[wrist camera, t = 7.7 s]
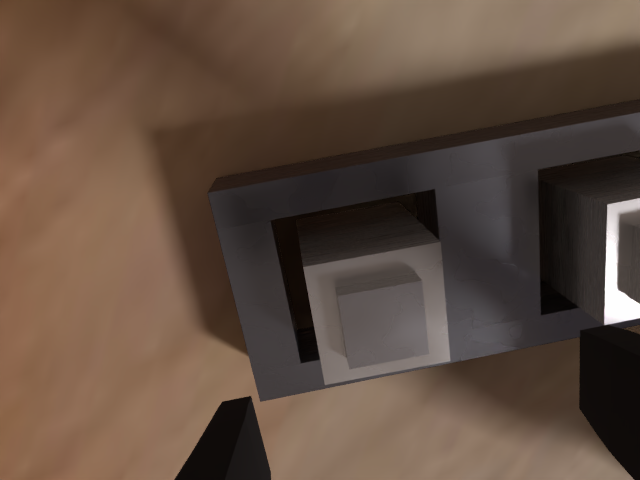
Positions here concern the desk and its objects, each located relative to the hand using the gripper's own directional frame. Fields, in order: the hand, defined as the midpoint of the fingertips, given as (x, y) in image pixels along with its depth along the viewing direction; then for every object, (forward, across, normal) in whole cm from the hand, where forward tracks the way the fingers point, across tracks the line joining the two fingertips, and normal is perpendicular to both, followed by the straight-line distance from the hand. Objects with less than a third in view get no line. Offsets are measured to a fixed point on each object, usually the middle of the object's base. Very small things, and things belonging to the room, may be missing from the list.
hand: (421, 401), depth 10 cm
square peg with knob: (+9, -9, 0) cm, 13 cm away
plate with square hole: (+9, -4, 0) cm, 10 cm away
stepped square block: (+9, 0, 0) cm, 9 cm away
